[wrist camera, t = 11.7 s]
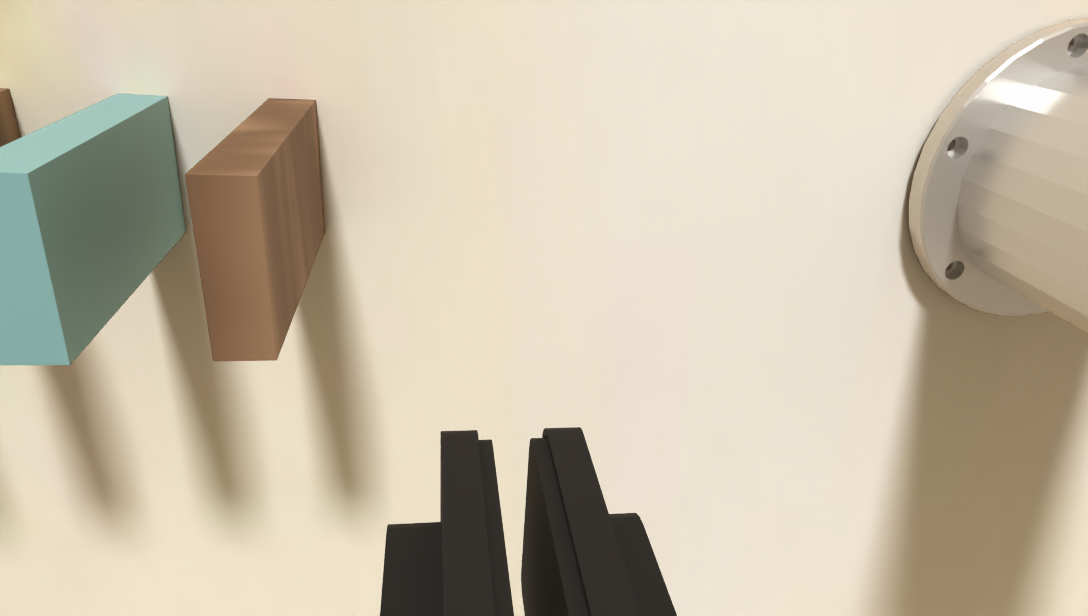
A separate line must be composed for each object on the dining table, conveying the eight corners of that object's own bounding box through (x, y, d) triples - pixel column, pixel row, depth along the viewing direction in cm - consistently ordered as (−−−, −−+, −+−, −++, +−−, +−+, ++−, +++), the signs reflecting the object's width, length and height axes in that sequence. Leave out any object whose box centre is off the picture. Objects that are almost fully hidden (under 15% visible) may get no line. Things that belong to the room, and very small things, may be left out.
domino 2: (315, 100, 26) (256, 176, 17) (324, 232, 28) (277, 360, 20) (269, 98, 26) (185, 174, 17) (281, 231, 28) (213, 361, 19)
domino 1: (167, 96, 26) (26, 173, 17) (185, 232, 28) (69, 365, 19) (117, 93, 25) (-52, 170, 16) (140, 230, 27) (0, 365, 19)
